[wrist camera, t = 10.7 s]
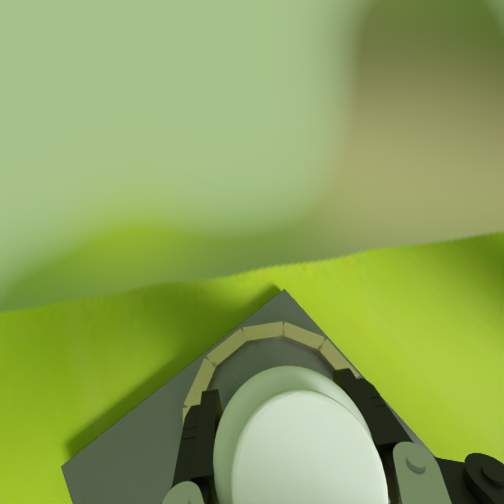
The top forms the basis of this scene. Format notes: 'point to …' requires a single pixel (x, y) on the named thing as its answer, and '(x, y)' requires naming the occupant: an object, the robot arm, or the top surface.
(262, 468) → the supplement bottle
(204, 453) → the robot arm
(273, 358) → the carrier plate
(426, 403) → the top surface
